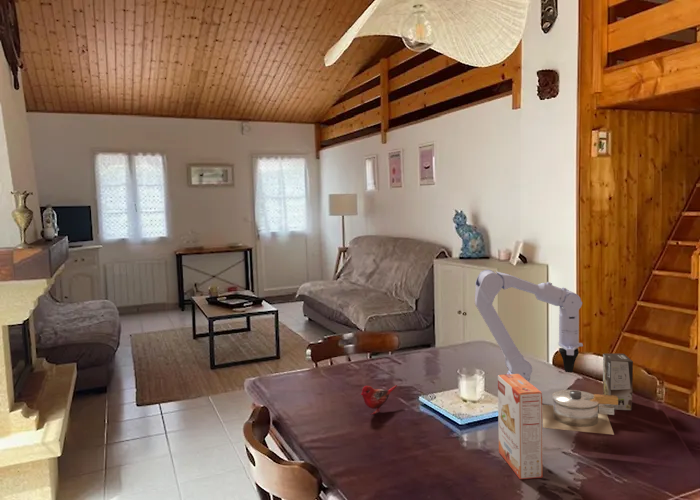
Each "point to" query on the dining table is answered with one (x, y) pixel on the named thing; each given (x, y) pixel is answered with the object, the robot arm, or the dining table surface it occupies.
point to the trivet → (600, 427)
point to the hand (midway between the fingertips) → (568, 371)
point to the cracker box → (520, 425)
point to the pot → (580, 414)
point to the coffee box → (618, 379)
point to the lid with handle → (582, 399)
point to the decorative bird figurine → (375, 397)
